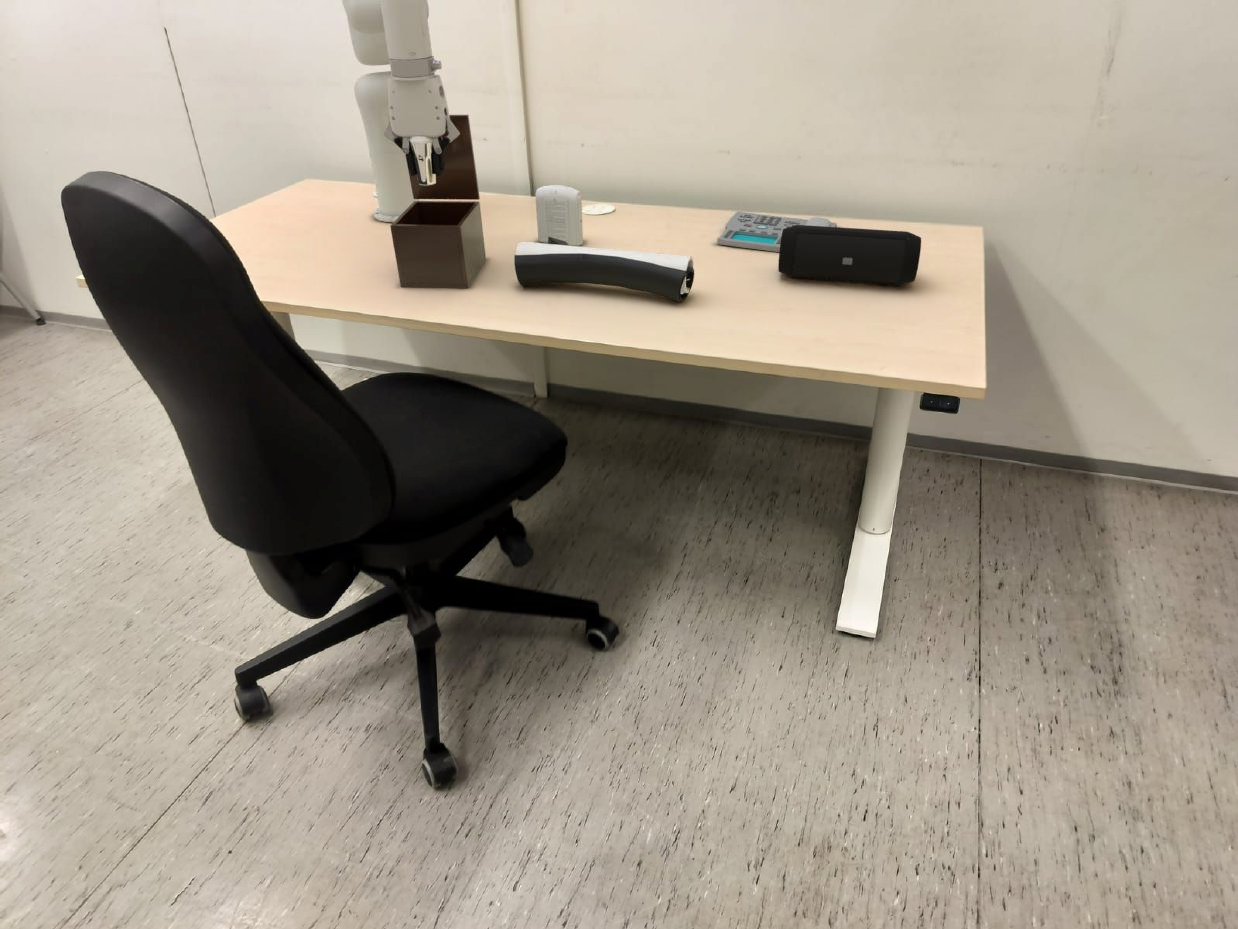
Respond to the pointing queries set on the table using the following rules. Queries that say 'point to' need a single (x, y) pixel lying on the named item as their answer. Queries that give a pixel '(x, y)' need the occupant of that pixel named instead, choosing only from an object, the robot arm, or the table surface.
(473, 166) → the lid
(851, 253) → the portable speaker
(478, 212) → the chest
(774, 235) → the office telephone
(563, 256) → the curved black white bar
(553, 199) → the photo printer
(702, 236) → the table surface
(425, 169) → the milkshake
